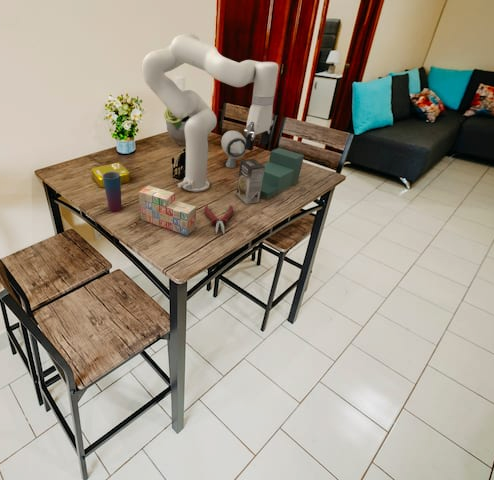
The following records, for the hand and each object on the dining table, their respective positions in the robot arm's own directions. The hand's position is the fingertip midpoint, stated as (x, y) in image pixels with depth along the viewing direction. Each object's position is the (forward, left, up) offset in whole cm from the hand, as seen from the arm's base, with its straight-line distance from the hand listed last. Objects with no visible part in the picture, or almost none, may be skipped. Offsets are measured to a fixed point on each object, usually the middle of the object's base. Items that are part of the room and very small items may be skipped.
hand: (256, 146), depth 132 cm
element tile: (-33, +57, -23) cm, 69 cm away
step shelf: (+16, 0, -22) cm, 28 cm away
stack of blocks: (-40, +9, -23) cm, 47 cm away
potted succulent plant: (+27, +68, -23) cm, 76 cm away
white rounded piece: (+19, +26, -23) cm, 39 cm away
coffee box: (-1, 0, -23) cm, 23 cm away
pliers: (-25, -2, -23) cm, 34 cm away
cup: (-48, +32, -23) cm, 62 cm away
